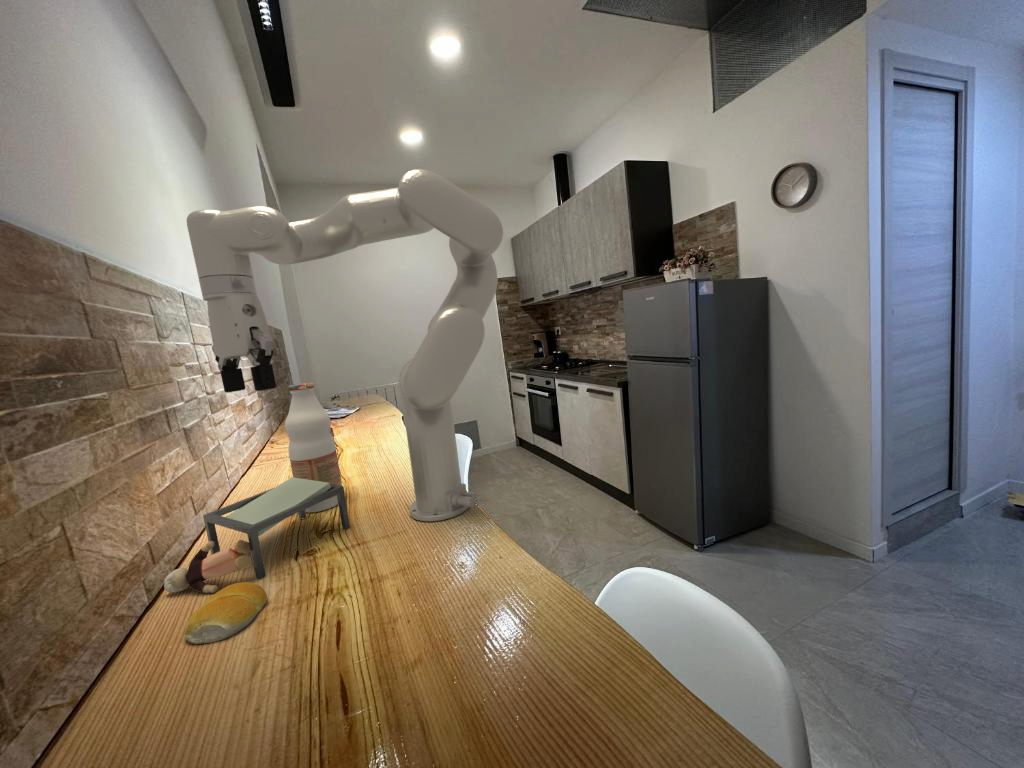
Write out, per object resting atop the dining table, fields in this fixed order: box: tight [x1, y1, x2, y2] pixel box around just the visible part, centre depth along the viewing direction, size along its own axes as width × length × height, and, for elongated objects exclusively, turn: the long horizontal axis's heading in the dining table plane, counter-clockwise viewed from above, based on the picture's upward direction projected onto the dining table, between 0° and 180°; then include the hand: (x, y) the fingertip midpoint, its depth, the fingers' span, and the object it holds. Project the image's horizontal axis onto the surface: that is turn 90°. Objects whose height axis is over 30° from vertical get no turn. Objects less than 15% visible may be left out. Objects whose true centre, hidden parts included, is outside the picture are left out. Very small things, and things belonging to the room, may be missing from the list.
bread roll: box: [184, 581, 268, 645], centre depth 52 cm, size 8×9×4 cm
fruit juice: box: [284, 382, 343, 514], centre depth 87 cm, size 9×9×28 cm
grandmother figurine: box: [163, 539, 252, 594], centre depth 60 cm, size 8×4×13 cm
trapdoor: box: [225, 476, 331, 537], centre depth 71 cm, size 12×14×3 cm
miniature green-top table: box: [202, 484, 351, 580], centre depth 71 cm, size 15×17×8 cm
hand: (250, 390), depth 67 cm, fingers open, 9 cm apart
